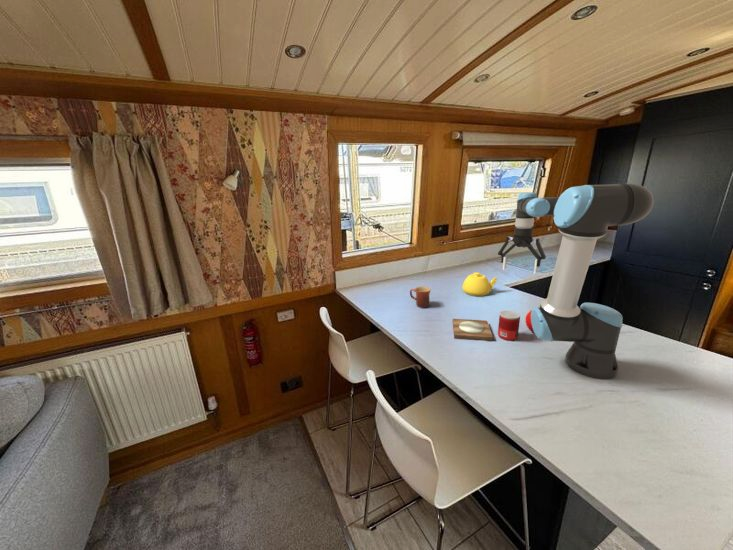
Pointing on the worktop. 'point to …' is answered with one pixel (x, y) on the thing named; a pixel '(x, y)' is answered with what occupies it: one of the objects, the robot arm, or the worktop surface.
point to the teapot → (478, 285)
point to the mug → (421, 296)
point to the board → (472, 329)
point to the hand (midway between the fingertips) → (519, 271)
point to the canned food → (508, 325)
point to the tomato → (529, 321)
